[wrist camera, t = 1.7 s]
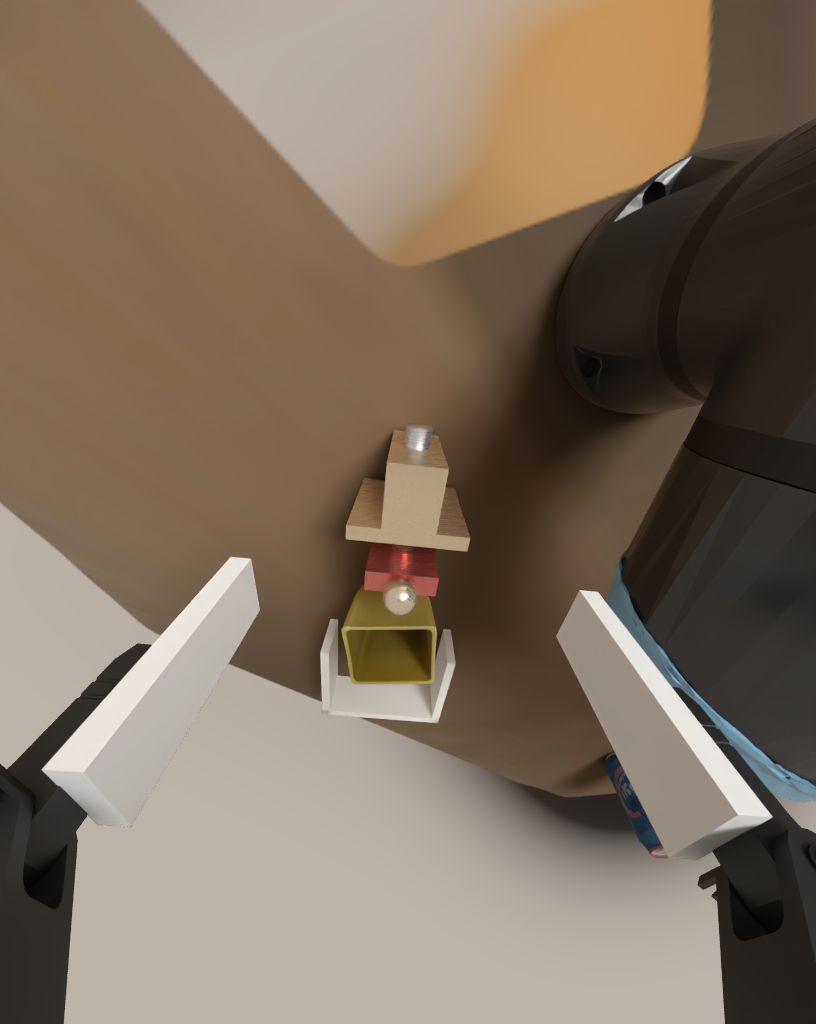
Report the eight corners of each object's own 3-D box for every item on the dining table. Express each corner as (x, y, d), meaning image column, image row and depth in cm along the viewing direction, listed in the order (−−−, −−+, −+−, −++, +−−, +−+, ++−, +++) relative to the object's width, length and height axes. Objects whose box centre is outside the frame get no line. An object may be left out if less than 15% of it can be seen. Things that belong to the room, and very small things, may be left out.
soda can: (625, 744, 53) (678, 841, 43) (649, 755, 55) (705, 850, 45) (594, 759, 56) (636, 854, 45) (617, 769, 58) (663, 862, 47)
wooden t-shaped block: (468, 421, 27) (502, 462, 17) (442, 544, 33) (456, 628, 23) (367, 408, 26) (340, 443, 16) (361, 535, 32) (338, 617, 22)
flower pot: (430, 617, 39) (434, 685, 31) (363, 618, 39) (351, 686, 31) (431, 564, 35) (436, 626, 27) (356, 564, 35) (340, 627, 27)
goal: (450, 629, 40) (455, 663, 35) (435, 687, 46) (437, 722, 41) (330, 618, 39) (320, 652, 35) (331, 678, 45) (322, 714, 41)
